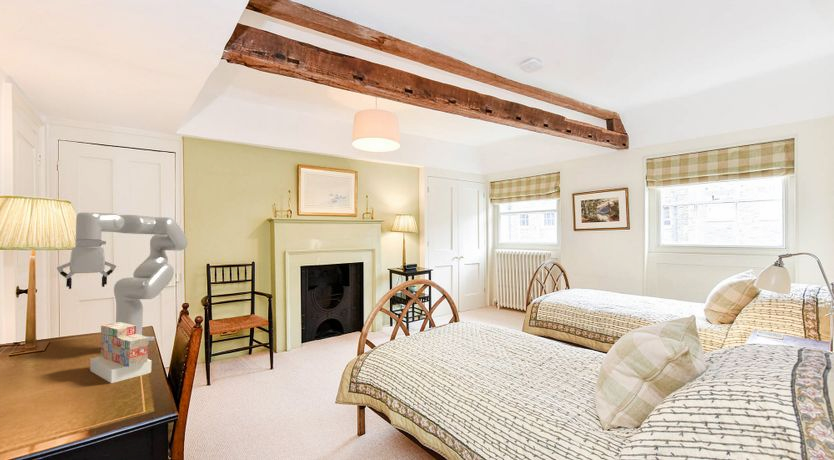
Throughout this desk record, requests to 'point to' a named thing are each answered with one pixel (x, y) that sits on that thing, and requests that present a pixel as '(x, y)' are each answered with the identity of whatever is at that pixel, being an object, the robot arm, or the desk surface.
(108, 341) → the stack of blocks
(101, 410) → the desk surface
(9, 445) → the desk surface
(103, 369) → the block
